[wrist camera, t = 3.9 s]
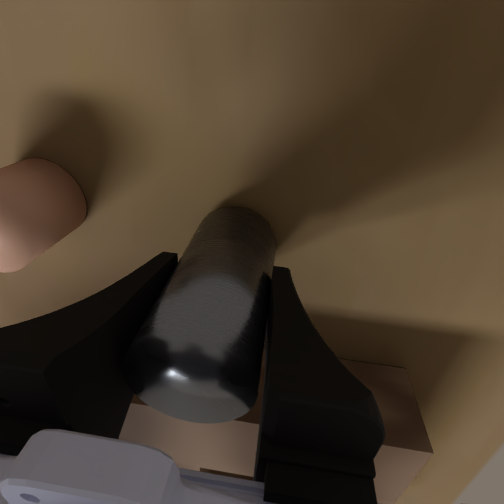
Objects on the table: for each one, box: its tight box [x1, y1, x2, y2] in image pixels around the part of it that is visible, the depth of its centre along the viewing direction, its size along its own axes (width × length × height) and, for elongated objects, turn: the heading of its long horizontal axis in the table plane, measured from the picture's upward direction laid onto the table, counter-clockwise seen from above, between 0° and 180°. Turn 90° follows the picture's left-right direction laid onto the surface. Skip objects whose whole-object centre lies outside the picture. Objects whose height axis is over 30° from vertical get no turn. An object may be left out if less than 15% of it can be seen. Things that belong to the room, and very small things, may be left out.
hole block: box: [119, 348, 434, 504], centre depth 23 cm, size 18×18×5 cm
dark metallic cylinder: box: [122, 207, 276, 424], centre depth 13 cm, size 4×4×8 cm
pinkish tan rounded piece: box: [0, 158, 87, 272], centre depth 15 cm, size 4×4×4 cm
